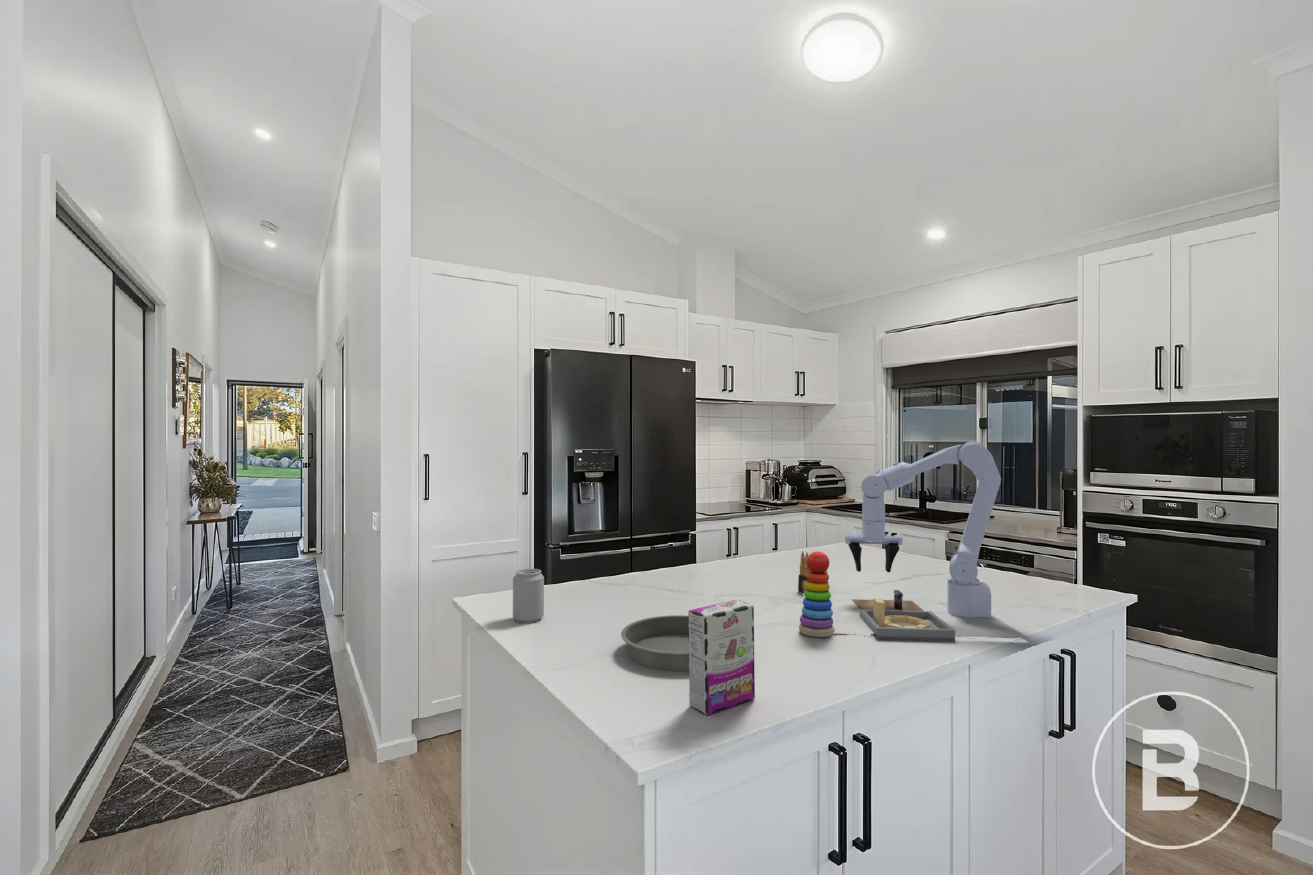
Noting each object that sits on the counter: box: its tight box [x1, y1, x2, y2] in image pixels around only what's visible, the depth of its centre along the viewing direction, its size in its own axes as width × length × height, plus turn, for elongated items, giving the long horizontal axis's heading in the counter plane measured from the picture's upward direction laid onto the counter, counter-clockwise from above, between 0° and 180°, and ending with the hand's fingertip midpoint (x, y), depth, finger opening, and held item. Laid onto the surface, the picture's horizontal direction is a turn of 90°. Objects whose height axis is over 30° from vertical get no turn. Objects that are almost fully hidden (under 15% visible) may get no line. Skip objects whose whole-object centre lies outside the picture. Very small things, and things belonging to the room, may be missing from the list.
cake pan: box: [620, 614, 689, 672], centre depth 132 cm, size 25×25×4 cm
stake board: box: [851, 599, 925, 611], centre depth 163 cm, size 16×14×1 cm
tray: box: [859, 609, 956, 643], centre depth 147 cm, size 17×15×2 cm
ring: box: [872, 597, 931, 628], centre depth 147 cm, size 12×10×6 cm
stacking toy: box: [798, 551, 836, 638], centre depth 145 cm, size 8×8×19 cm
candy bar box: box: [687, 599, 756, 716], centre depth 107 cm, size 11×5×16 cm, turn 126°
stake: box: [893, 589, 904, 610], centre depth 162 cm, size 2×4×4 cm, turn 176°
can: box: [512, 568, 545, 624], centre depth 155 cm, size 8×8×12 cm
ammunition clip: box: [797, 550, 830, 594], centre depth 178 cm, size 11×2×12 cm, turn 28°
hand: (873, 571), depth 167 cm, fingers open, 7 cm apart
